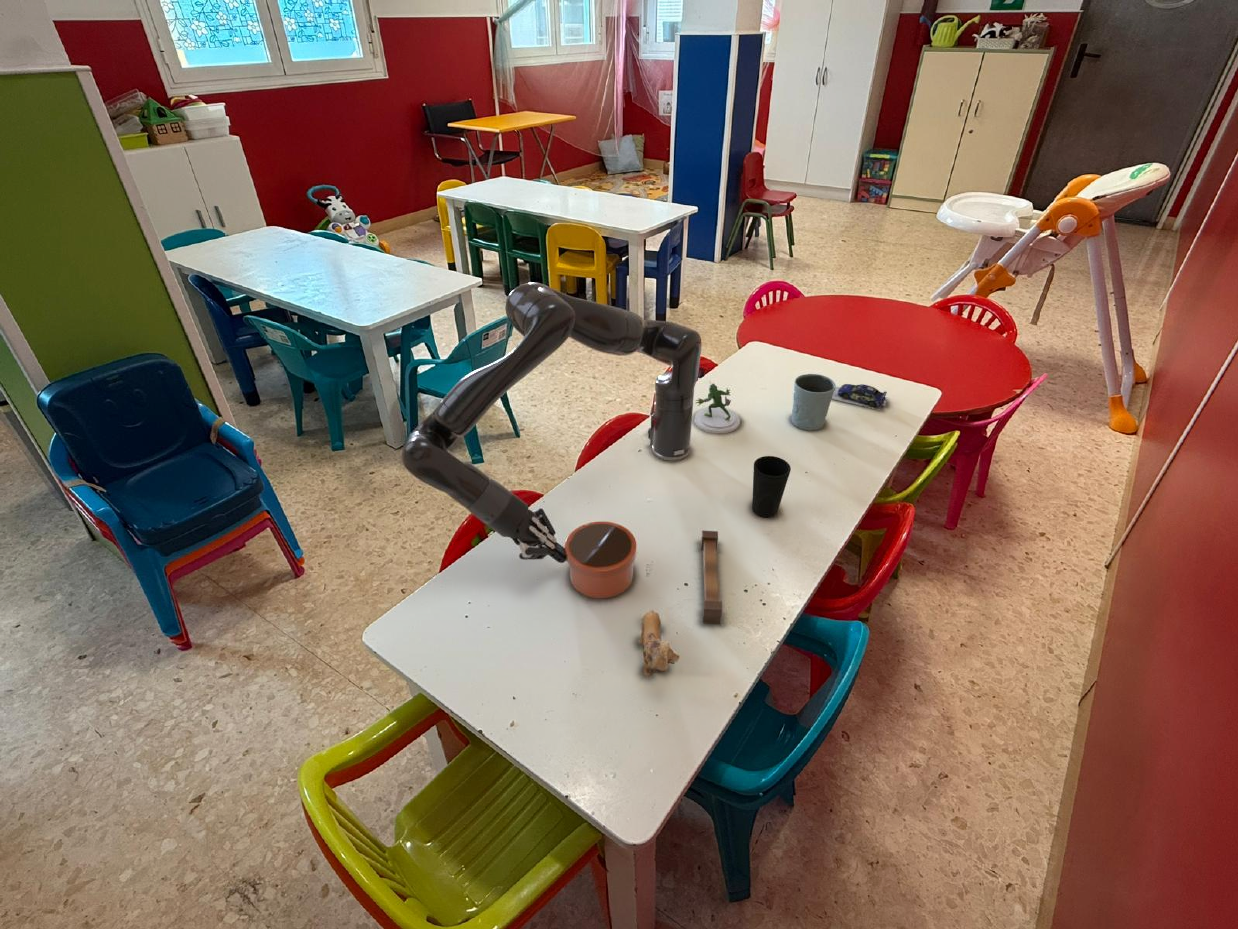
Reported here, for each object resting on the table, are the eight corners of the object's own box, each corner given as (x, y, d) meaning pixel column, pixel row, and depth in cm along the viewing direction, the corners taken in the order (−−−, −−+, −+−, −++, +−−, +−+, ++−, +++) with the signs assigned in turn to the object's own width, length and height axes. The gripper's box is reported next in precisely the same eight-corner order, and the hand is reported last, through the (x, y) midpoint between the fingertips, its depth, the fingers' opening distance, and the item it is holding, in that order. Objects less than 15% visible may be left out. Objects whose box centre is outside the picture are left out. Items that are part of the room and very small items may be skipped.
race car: (828, 398, 179) (831, 384, 177) (833, 388, 184) (837, 374, 181) (883, 411, 174) (888, 396, 171) (887, 400, 178) (891, 386, 176)
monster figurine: (720, 405, 177) (724, 372, 170) (748, 425, 168) (753, 391, 162) (685, 417, 172) (688, 384, 166) (713, 438, 163) (716, 404, 157)
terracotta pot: (562, 598, 120) (559, 568, 115) (572, 548, 131) (570, 519, 126) (633, 603, 119) (634, 572, 114) (638, 552, 130) (638, 522, 125)
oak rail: (720, 624, 115) (722, 610, 112) (702, 622, 115) (704, 608, 113) (716, 544, 131) (717, 531, 129) (700, 543, 131) (702, 530, 129)
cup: (782, 523, 137) (791, 479, 129) (746, 518, 138) (753, 474, 131) (782, 501, 143) (790, 457, 136) (747, 496, 144) (754, 453, 137)
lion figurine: (679, 687, 104) (682, 652, 99) (648, 693, 103) (650, 659, 98) (655, 618, 116) (657, 584, 110) (627, 624, 115) (627, 590, 109)
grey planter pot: (831, 419, 170) (840, 379, 163) (819, 436, 164) (828, 396, 157) (795, 408, 175) (802, 369, 168) (782, 425, 168) (789, 385, 161)
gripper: (500, 520, 110) (574, 574, 116) (517, 474, 120) (583, 526, 126) (475, 541, 113) (547, 592, 119) (493, 494, 124) (559, 544, 130)
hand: (566, 558), depth 123 cm, fingers closed
